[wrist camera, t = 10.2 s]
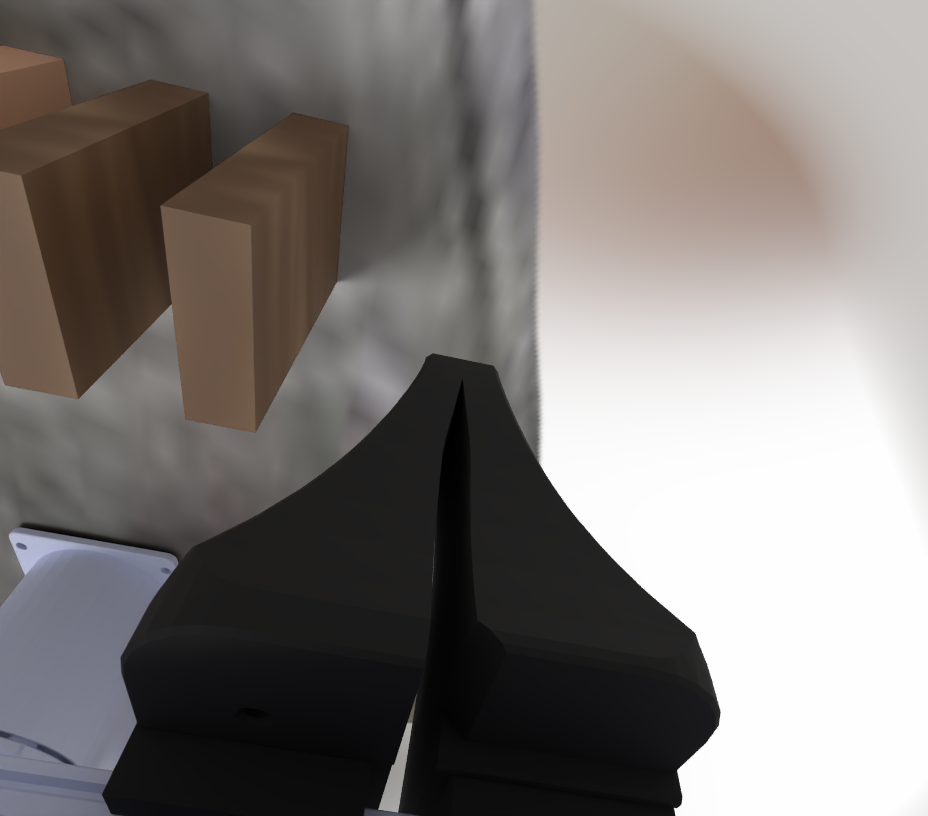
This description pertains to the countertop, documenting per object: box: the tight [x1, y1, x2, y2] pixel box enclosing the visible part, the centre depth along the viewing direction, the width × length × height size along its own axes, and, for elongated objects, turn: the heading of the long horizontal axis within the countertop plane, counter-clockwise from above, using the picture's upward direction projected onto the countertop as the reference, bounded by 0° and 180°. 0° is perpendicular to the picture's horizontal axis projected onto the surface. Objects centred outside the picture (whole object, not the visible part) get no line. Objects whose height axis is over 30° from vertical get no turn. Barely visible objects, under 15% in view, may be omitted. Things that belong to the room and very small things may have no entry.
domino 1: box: [160, 113, 348, 433], centre depth 15 cm, size 2×5×8 cm, turn 168°
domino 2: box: [0, 80, 213, 399], centre depth 15 cm, size 2×5×8 cm, turn 168°
